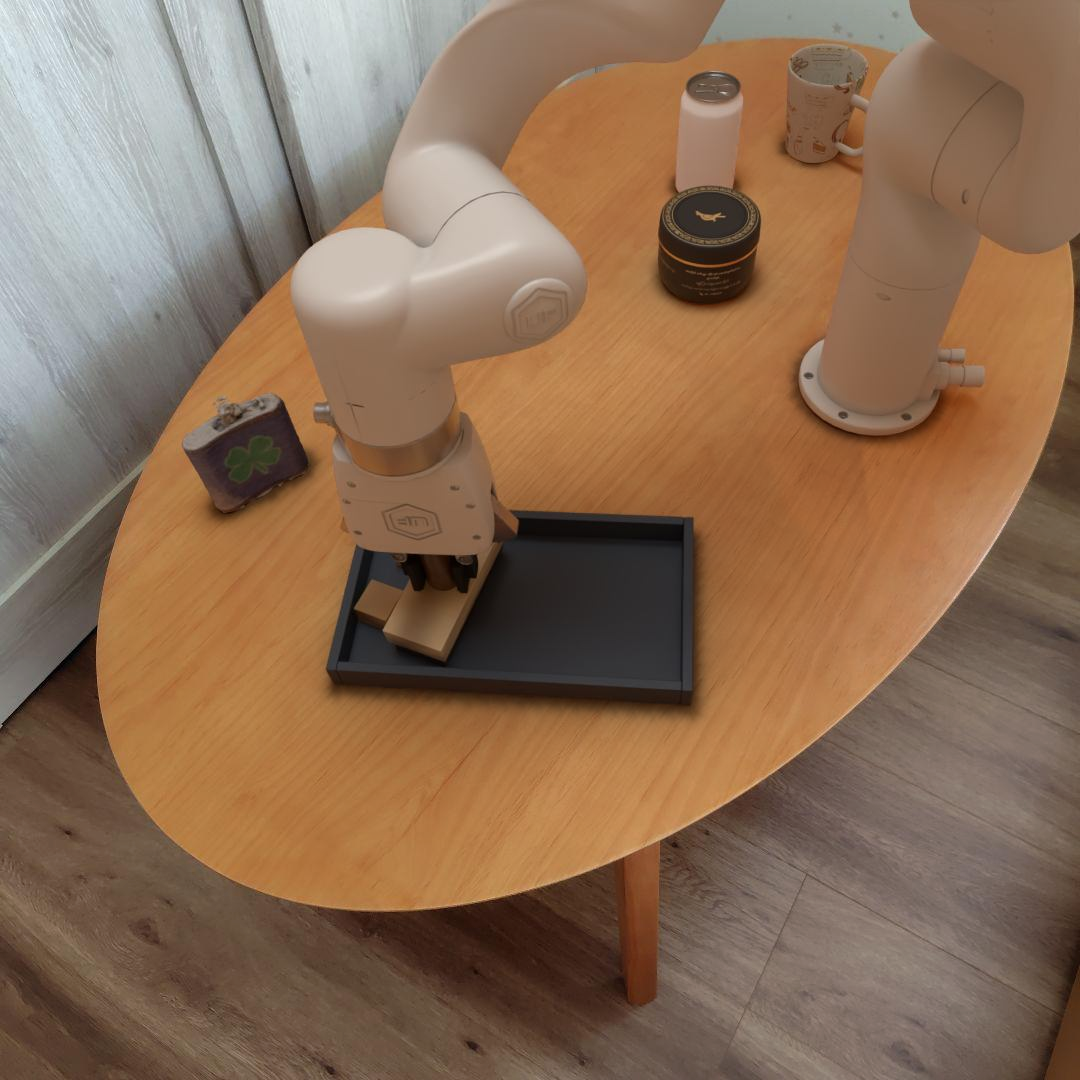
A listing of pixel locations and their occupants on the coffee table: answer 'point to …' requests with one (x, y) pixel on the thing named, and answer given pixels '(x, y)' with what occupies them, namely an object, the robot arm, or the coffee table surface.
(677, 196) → the jar
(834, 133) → the mug
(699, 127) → the can
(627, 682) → the tray
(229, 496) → the flask
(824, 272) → the coffee table surface
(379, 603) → the small wooden block
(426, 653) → the brush
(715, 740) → the coffee table surface
